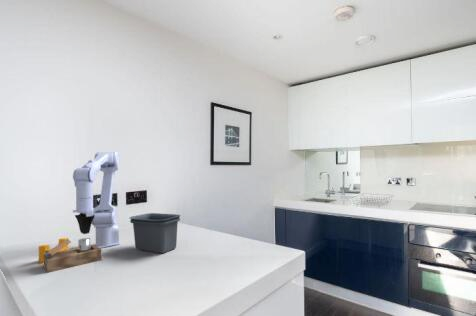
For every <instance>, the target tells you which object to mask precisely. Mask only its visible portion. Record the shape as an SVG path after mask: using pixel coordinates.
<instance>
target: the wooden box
mask: <svg viewBox="0 0 476 316" xmlns="http://www.w3.org/2000/svg"><path fill="white" fill-rule="evenodd" d="M48 251H49V250H48ZM48 251H45V253H46V252H48ZM100 261H102V248H98V247H97V246H96V245H93V244H90V251H85V252H80V253H78V247H75V248H71V249H69V248H68V250H64V251H59V252H57V253H55V254H54V255H52V256H51V254H47V257H46V255H45V254H44V263H43V266H44V268H45V270H46V273H51V272H52V273H53V272H56V271H61V270H64V269H69V268H73V267H77V266H82V265H85V264H90V263H96V262H100Z"/></svg>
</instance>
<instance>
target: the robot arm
mask: <svg viewBox="0 0 476 316" xmlns="http://www.w3.org/2000/svg"><path fill="white" fill-rule="evenodd" d="M120 159H121V158H120V155H119V152H118V151H107V152H104V151H101V152H99V151H97V152H95V154H94V159H89V160H88V161H87V162H85V164H84V165H83V166H81V167H77V168H76V169H74V170H73V173H72V180H73V181H74V183H73V184H74V187H75V188H76V189H75V196H76V197H75V199H76V201H75V205H76V208H75V209H73V210H72V213H77V214H75V215H74V216H75V219H76V221H77V224H78V227H79V231H80V233H81V234H82V235H87V234H90V231H91V226H93V228H95V243H93V244H92V245H96V246H97V247H98V248H100V249H103V248H107V247H112V246H117V245H120V233H119V232H120V230H119V225H118V224H117V221H118V214H117V213H118V212H117V211H118V210H117V208H116V207H115V206H114V205H112V200H113V199H112V198H113V189H114V183H115V182H114V181H115V175H116V172H117V171H118V170H119V167H120ZM100 171H101V172H103V173H102V174H103V176H102V182H101V184H102V185H101V191H100V200H99V204H98V205H97V206H96V207H94V182H95V180H96V177H97V174H98V173H99V172H100Z"/></svg>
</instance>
